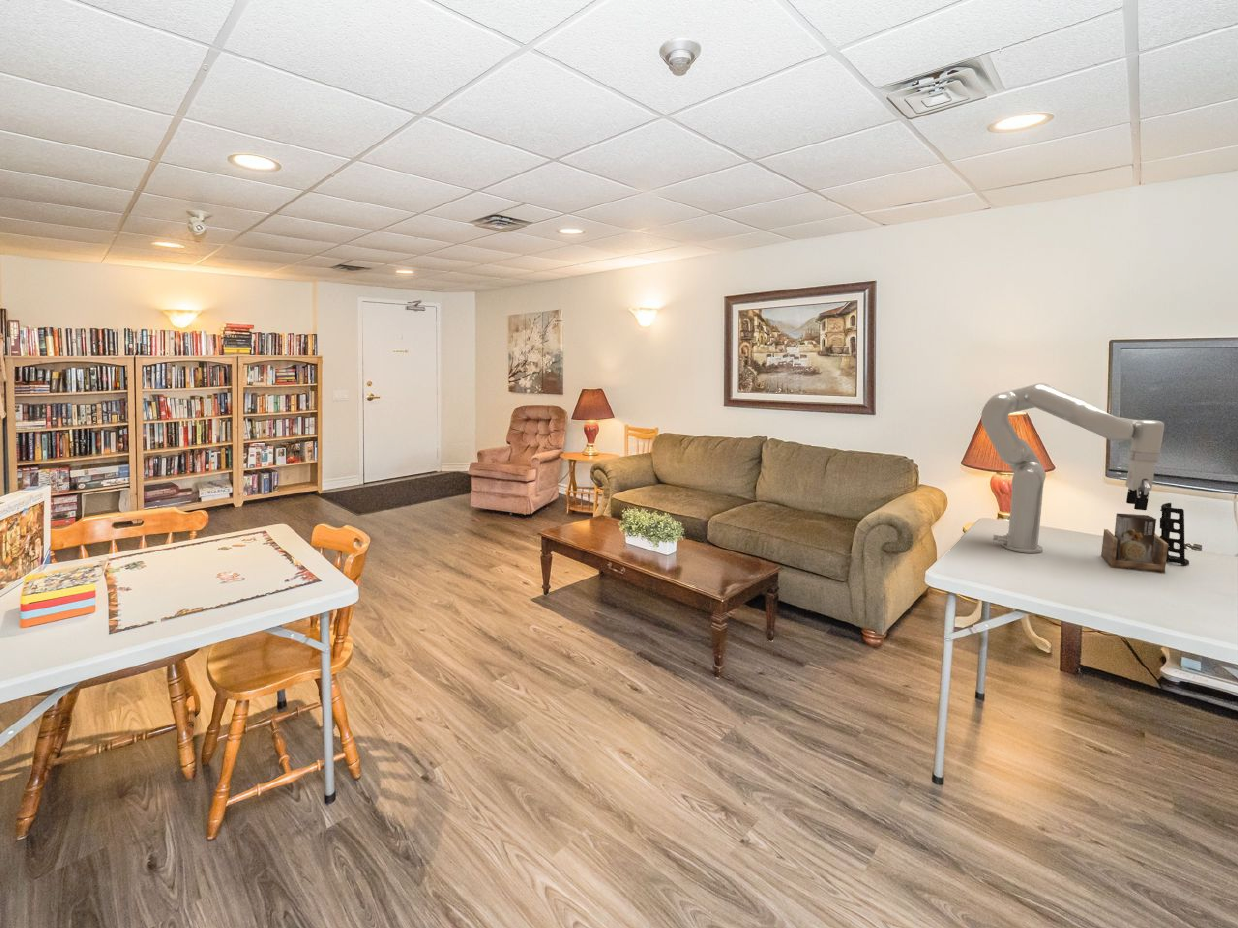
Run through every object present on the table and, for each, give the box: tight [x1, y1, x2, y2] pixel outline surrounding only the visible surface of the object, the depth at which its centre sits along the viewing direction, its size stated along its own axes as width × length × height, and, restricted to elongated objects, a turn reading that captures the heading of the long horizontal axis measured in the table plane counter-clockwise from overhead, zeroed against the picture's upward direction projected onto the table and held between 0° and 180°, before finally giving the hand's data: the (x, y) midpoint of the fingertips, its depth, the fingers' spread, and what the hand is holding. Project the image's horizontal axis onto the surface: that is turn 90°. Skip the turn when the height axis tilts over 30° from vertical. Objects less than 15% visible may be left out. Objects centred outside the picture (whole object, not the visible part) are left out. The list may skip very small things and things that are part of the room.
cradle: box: [1100, 528, 1168, 574], centre depth 207 cm, size 14×14×10 cm
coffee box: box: [1114, 513, 1157, 564], centre depth 206 cm, size 9×6×16 cm
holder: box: [1159, 502, 1190, 567], centre depth 209 cm, size 11×8×20 cm
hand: (1136, 506), depth 205 cm, fingers open, 9 cm apart
